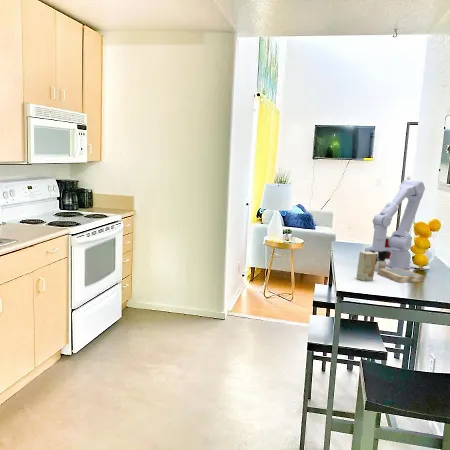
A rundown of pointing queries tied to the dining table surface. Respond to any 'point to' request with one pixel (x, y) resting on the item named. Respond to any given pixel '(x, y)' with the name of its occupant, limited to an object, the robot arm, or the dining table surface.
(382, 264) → the housing
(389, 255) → the plastic cup
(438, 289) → the dining table surface
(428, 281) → the dining table surface
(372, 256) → the skincare box
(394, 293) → the dining table surface
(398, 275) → the stand
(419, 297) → the dining table surface
